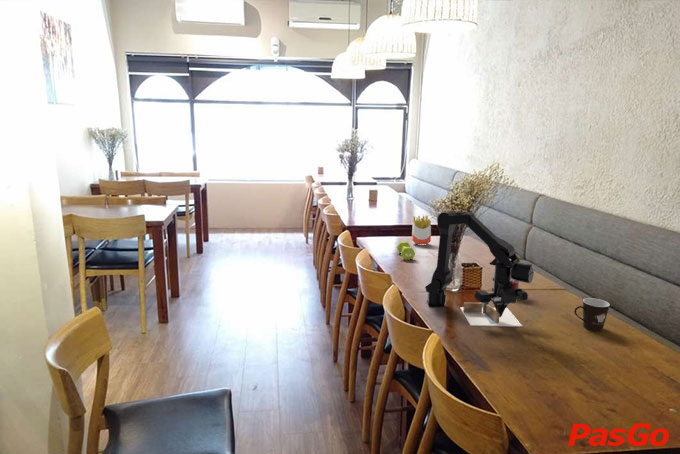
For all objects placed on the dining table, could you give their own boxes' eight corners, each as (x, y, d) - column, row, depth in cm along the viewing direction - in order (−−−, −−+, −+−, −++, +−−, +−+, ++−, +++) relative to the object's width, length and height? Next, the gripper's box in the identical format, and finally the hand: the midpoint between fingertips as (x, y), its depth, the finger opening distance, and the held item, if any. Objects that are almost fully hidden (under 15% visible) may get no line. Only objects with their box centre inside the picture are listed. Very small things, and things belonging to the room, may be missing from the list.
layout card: (470, 325, 173) (470, 324, 173) (460, 308, 189) (460, 306, 189) (522, 326, 172) (522, 325, 172) (507, 308, 189) (507, 307, 189)
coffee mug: (603, 324, 174) (607, 299, 172) (608, 334, 166) (612, 308, 164) (569, 320, 178) (572, 295, 176) (572, 329, 170) (575, 304, 168)
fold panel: (485, 313, 182) (486, 304, 181) (488, 313, 182) (488, 304, 181) (496, 323, 173) (497, 313, 173) (498, 322, 174) (499, 313, 173)
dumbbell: (396, 252, 270) (396, 240, 269) (409, 252, 271) (410, 240, 269) (400, 261, 254) (401, 248, 253) (415, 260, 255) (415, 248, 253)
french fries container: (430, 245, 286) (431, 216, 282) (412, 245, 286) (414, 216, 282) (429, 243, 291) (430, 215, 287) (411, 243, 291) (412, 215, 287)
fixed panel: (464, 314, 183) (464, 302, 182) (462, 312, 185) (463, 301, 184) (488, 314, 183) (488, 303, 182) (486, 312, 185) (487, 301, 184)
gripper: (488, 286, 164) (485, 327, 167) (537, 283, 166) (534, 324, 169) (475, 276, 174) (472, 315, 178) (521, 273, 177) (518, 312, 180)
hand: (499, 316), depth 176 cm, fingers closed
